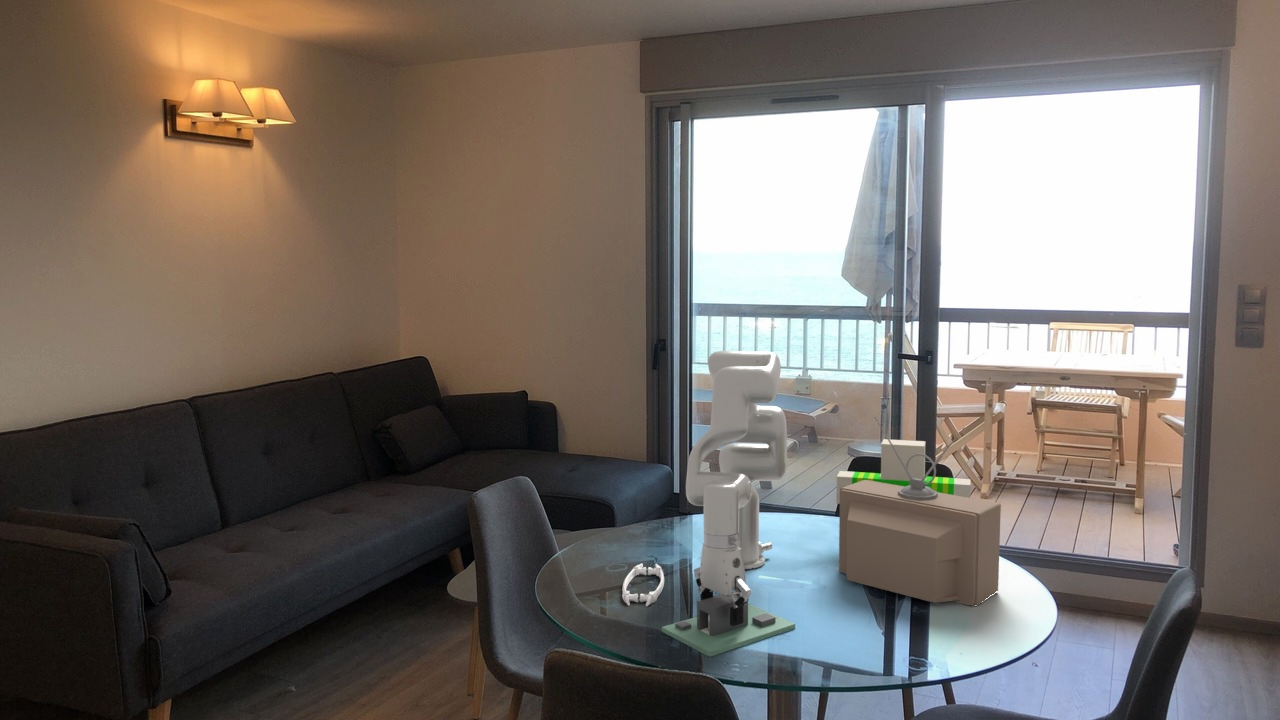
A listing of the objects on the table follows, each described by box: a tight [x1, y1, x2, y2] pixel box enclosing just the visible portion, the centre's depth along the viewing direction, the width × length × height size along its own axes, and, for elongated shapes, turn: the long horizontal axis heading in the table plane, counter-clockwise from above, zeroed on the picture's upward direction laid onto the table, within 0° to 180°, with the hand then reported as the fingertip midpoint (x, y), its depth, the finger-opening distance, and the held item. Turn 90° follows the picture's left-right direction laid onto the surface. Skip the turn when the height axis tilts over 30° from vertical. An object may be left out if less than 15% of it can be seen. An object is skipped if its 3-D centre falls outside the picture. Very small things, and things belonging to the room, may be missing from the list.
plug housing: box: [696, 590, 749, 636], centre depth 199 cm, size 10×5×6 cm, turn 126°
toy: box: [835, 438, 971, 505], centre depth 250 cm, size 34×7×30 cm, turn 71°
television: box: [838, 416, 1002, 606], centre depth 225 cm, size 36×20×40 cm, turn 46°
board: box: [661, 603, 796, 658], centre depth 201 cm, size 24×16×3 cm, turn 126°
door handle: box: [621, 563, 665, 607], centre depth 227 cm, size 3×10×25 cm
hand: (721, 617), depth 199 cm, fingers open, 9 cm apart
